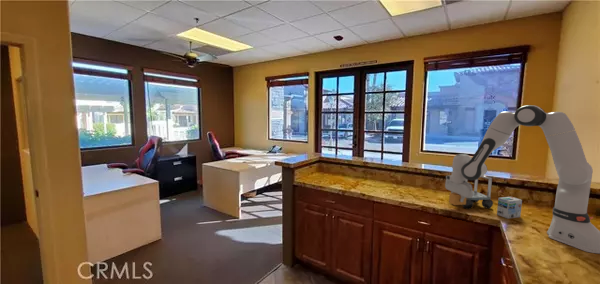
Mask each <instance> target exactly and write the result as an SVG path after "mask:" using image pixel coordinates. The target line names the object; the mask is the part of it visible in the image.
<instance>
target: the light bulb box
mask: <svg viewBox="0 0 600 284" xmlns="http://www.w3.org/2000/svg"><path fill="white" fill-rule="evenodd" d="M497 198H498V201H497V208H496V209H497V212H496V215H497V216H500V217H501V218H505V219H515V218H521V216H522V215H521V214H522V206H523V205H522V204H523V199H520V198H517V197H513V196H504V197H497Z"/></svg>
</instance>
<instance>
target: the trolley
mask: <svg viewBox="0 0 600 284" xmlns="http://www.w3.org/2000/svg"><path fill="white" fill-rule="evenodd" d="M480 178H483V179H486V180H488V181H487V182H488V185H487V194H486V195H485V194H483V193H481V192H478V184H479V178H478V179H476V180H474V186H473V187H474V188H473V196H472V198H466V205H462V207H463V208H465V209H467V210H471V209H472V208H474V204H476V203H478V202H479V201H481V205H482V207H484V208H485V209H491V208H492V207H493V206H494V202H493V199H491V198H492V197H491V195H492V194H491V193H492V192H491V191H492V182H493V177H490V176H487V175H485V174H484V175H483V176H481V177H480Z"/></svg>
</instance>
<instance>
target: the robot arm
mask: <svg viewBox="0 0 600 284" xmlns="http://www.w3.org/2000/svg"><path fill="white" fill-rule="evenodd" d="M519 126H524V127H540V128H541V130H542V132H543V134H544V136H545V139H546V142H547V145H548V147H549V150H550V153H551V158H552V161H553V164H554V167H555V170H556V174H557V176H558V183H557V188H556V194H555V200H554V201H555V202H554V206H553V207H552V219H551V222H550V226H549V228H548V230H547V231H546V234H547V236H548V238H549V239H551V240H555V241H557V242H559V243H563V244H565V245H567V246H568V245H569V246H571V247H572V248H576V249H579V250H581V251H584V252H586V253H590V254H591V253H593V254H600V230H599V229H598V228H597V227H596V226H595V225H594V224H592V222H591V220H592V219H593V218H594V216H589V214H588V205H589V197H590V192H591V184H592V178H593V167H592V165H591V164H590V163H589V162H588V160H587V158H586V155H585V152H584V148H583V146H582V143H581V140H580V138H579V136H578V134H577V130H576V128H575V127H574V125H573V122H572V121H571V119H570V118H569V117H568V115H567V114H566V113H564V112H563V111H551V112H546V111H545V110H544V109H543V108H542V107H540V106H538V105H531V104H527V105H523V106H521V107H519V108H517V109H516V110H515V112H511V111H501V112H499V113H498V114H497V116H495V118H494V119H493V120H492V121H491V123H490V125H489V126H488V128H487V130H486V132H485V134H484V136H483V139H482V141H481V142H480V145H479V147H478V148H477V150H476V151H475V152H474V155H473V156H472V157H471V156H470V155H469V154H466V153H463V154H462V153H460V154H457V155H454V156H453V160H452V167H451V168H452V171H451V174H450V175H445V179H446V180H445V183H444V187H445V189H446V190H448V191H450V193H457V194H459V195H461V199H459V202H463V200H464V199H465V197H466V198H472V196H473V191H474V188H473V185H472V184H471V182H468V180H469V181H475V180H476V179H478V180H479V179H480V178H482V177H481V176H483V175H484V176H485V175H486V174H487V172H488V167H487V165H486V163H485V162H486V160H487V159H488V157H489V156H490V155H491V154H492V152H494V151H495V150H497V149H498V148H500V147H501V146H503V145H504V144H505V143H507V141H508V140H509V138H510V137H511V136H512V134H513V133H514V130H515V129H516V128H518V127H519Z"/></svg>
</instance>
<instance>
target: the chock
mask: <svg viewBox="0 0 600 284" xmlns="http://www.w3.org/2000/svg"><path fill="white" fill-rule="evenodd" d="M459 199H461V195H459V194H457V193H451V192H450V193H449V196H448V203H450V204H451V205H453V206H463V205H466V197H465V199H464V200H463V202H459Z"/></svg>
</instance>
